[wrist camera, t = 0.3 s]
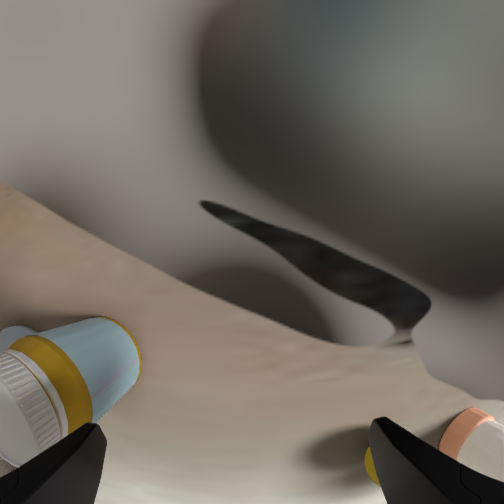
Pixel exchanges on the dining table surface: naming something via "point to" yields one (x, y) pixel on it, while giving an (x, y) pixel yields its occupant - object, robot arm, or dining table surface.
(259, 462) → the dining table surface
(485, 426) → the pepper shaker
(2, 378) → the bottle
